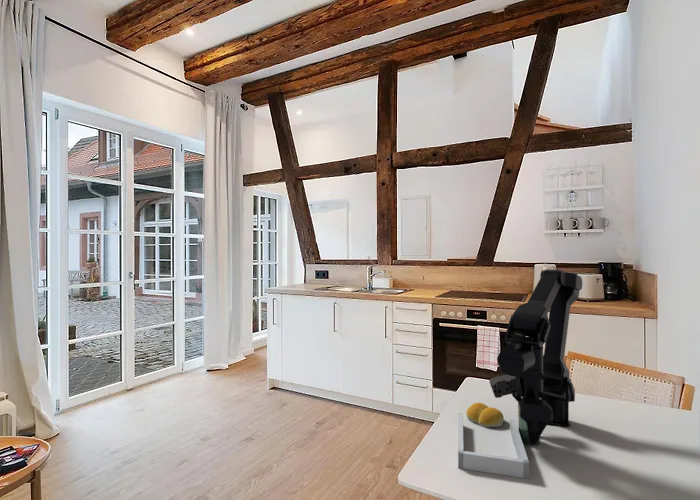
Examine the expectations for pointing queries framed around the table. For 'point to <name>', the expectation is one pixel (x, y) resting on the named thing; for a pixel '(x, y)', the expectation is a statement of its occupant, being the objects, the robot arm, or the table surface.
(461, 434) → the u-shaped frame
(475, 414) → the bread roll
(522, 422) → the tea tin
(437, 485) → the table surface
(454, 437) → the table surface
